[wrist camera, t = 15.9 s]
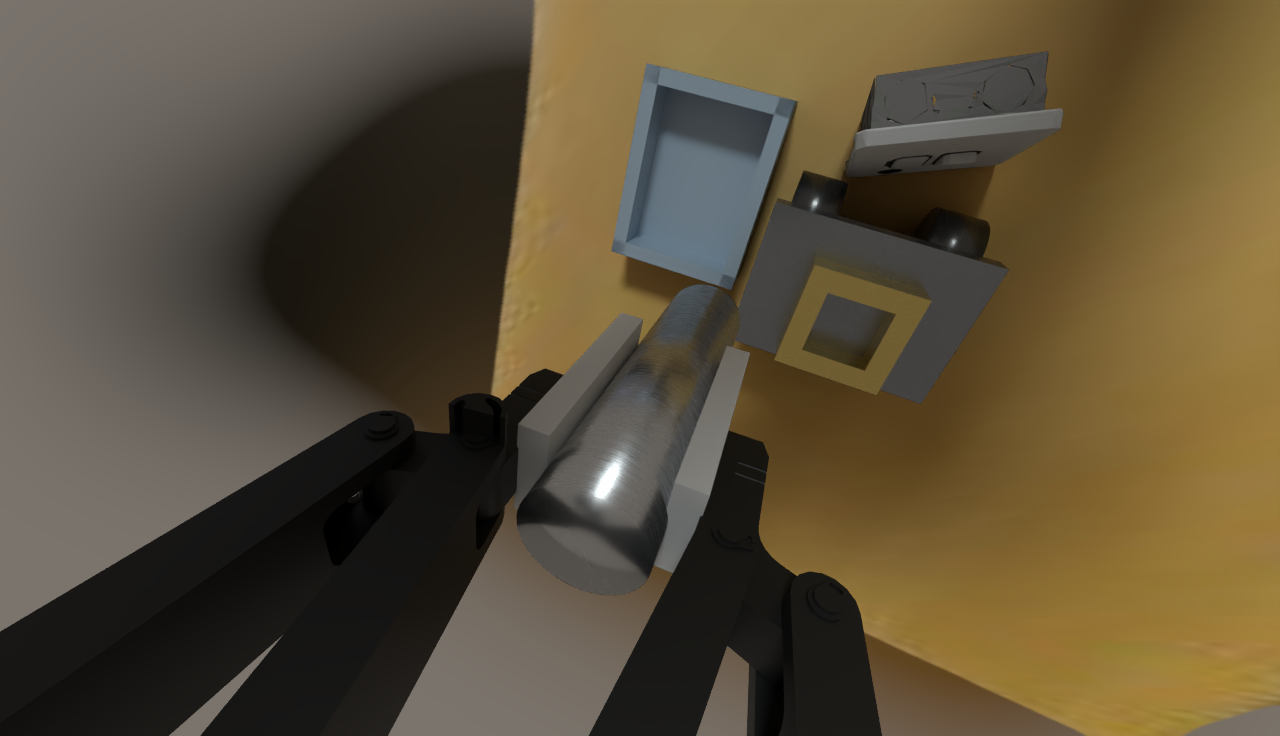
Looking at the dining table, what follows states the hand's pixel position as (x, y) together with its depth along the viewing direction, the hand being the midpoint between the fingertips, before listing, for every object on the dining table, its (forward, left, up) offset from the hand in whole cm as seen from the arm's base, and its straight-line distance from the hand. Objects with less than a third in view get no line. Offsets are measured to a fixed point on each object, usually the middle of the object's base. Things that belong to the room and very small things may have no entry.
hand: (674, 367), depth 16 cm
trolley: (+1, +8, -26) cm, 27 cm away
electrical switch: (-8, +8, -26) cm, 29 cm away
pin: (0, 0, -4) cm, 4 cm away
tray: (-2, -5, -26) cm, 27 cm away
